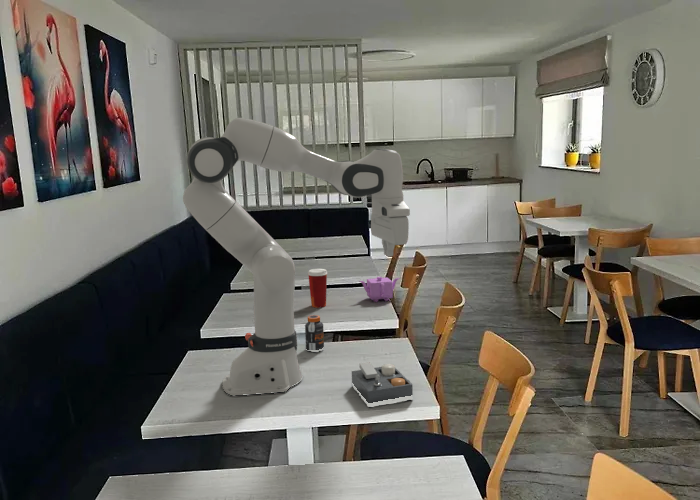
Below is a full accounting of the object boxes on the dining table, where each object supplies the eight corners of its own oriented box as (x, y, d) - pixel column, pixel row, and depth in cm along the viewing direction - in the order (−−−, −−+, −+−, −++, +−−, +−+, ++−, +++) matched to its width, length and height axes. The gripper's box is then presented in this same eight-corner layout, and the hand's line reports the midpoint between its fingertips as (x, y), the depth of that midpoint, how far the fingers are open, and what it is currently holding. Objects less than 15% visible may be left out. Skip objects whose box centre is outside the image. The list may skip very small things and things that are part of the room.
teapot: (395, 293, 255) (395, 271, 253) (404, 301, 242) (403, 278, 241) (355, 296, 252) (354, 274, 250) (362, 304, 239) (361, 281, 237)
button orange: (394, 398, 149) (394, 384, 148) (389, 393, 152) (389, 379, 152) (407, 396, 150) (407, 382, 149) (402, 391, 153) (401, 377, 153)
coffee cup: (332, 304, 241) (331, 269, 238) (321, 309, 234) (319, 273, 231) (316, 302, 245) (314, 267, 242) (304, 306, 238) (303, 271, 235)
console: (368, 408, 146) (368, 380, 144) (352, 386, 159) (351, 360, 158) (412, 400, 149) (412, 373, 148) (392, 380, 162) (392, 355, 161)
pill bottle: (317, 354, 184) (315, 320, 182) (302, 351, 187) (300, 317, 185) (327, 348, 189) (326, 315, 187) (313, 345, 192) (311, 312, 190)
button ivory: (384, 383, 155) (384, 369, 155) (380, 378, 159) (379, 365, 158) (397, 381, 156) (396, 367, 156) (392, 376, 160) (392, 363, 159)
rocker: (366, 378, 152) (366, 375, 152) (359, 367, 158) (359, 363, 157) (377, 377, 153) (377, 373, 153) (369, 365, 158) (369, 361, 158)
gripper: (365, 204, 171) (366, 250, 173) (390, 211, 152) (391, 263, 154) (385, 203, 173) (385, 248, 175) (412, 210, 153) (413, 261, 156)
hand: (388, 255), depth 164 cm, fingers closed
